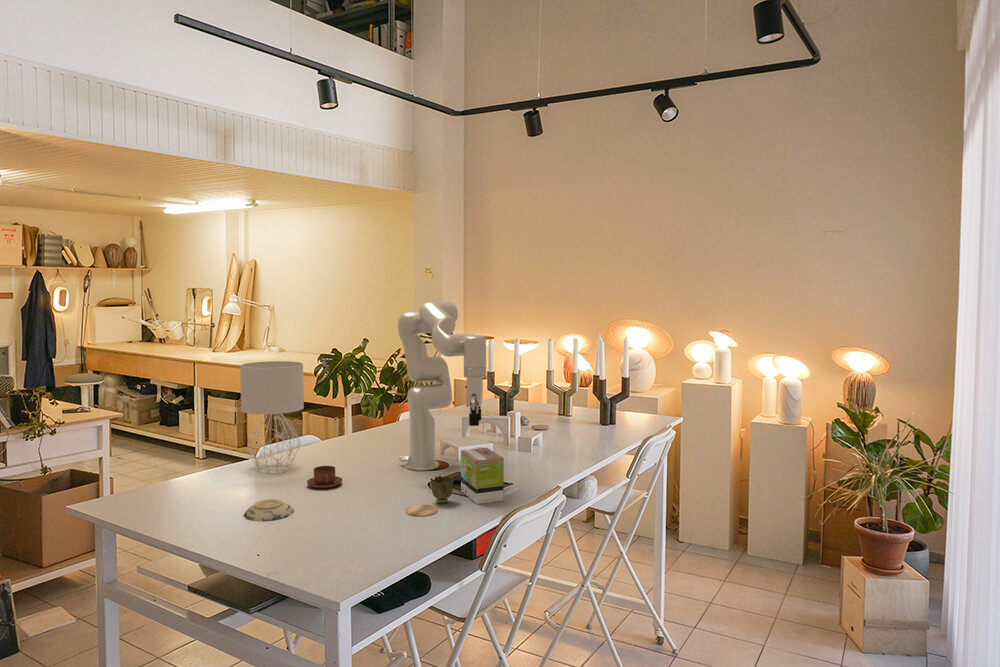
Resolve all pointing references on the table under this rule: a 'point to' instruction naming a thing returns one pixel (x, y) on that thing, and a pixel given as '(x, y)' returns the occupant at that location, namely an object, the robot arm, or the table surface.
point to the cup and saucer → (324, 477)
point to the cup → (442, 488)
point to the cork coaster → (421, 510)
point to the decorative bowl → (268, 511)
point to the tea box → (482, 475)
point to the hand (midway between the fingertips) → (475, 422)
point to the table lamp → (272, 397)
